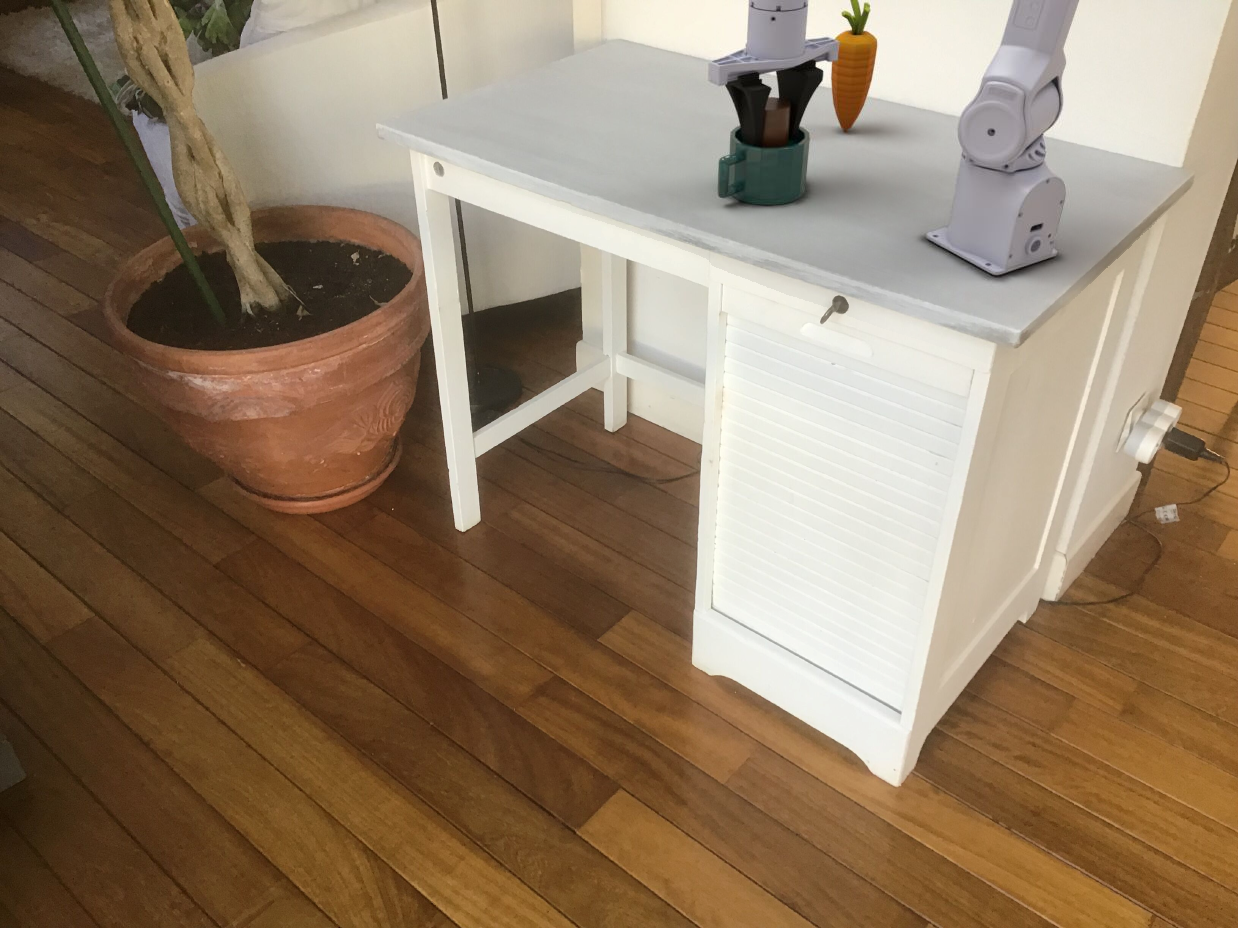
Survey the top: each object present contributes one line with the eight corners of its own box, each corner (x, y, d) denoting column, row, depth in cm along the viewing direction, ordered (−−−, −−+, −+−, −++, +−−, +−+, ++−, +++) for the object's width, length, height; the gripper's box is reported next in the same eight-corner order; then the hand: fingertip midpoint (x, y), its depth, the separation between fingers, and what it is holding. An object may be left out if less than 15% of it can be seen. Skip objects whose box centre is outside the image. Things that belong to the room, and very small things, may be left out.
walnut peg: (794, 162, 108) (798, 105, 104) (763, 170, 106) (766, 113, 103) (772, 150, 110) (775, 94, 107) (741, 158, 109) (744, 102, 105)
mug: (766, 168, 115) (769, 115, 111) (820, 190, 110) (826, 135, 106) (692, 196, 110) (693, 141, 106) (746, 220, 104) (749, 163, 101)
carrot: (866, 139, 121) (883, 5, 112) (823, 137, 122) (836, 4, 112) (866, 124, 125) (883, -7, 115) (825, 123, 125) (838, -8, 116)
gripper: (813, -16, 104) (802, 117, 112) (692, 6, 99) (690, 144, 107) (857, -1, 99) (843, 136, 108) (733, 23, 94) (727, 165, 102)
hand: (769, 141), depth 107 cm, fingers closed on walnut peg, 4 cm apart
